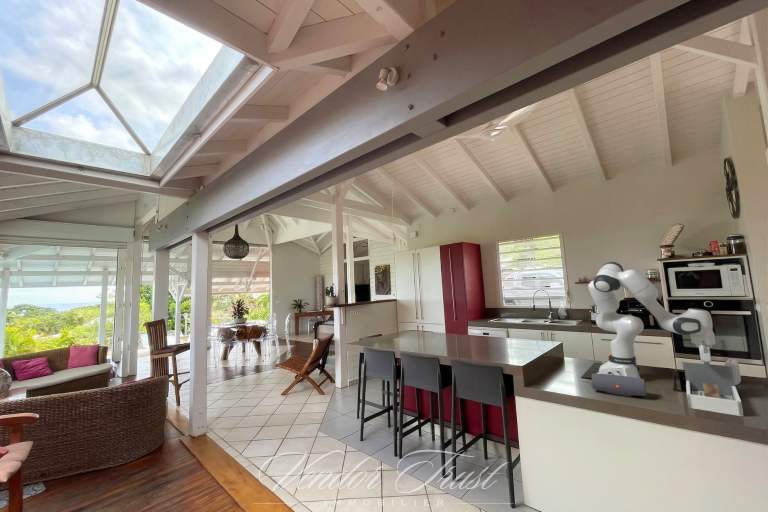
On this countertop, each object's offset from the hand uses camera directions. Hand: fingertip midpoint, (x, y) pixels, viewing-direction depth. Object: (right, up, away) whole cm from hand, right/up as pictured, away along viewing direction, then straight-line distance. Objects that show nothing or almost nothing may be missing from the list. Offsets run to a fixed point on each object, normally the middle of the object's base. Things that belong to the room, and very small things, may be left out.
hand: (707, 366), depth 160 cm
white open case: (-8, -13, -10) cm, 18 cm away
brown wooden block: (-8, -12, -10) cm, 17 cm away
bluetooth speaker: (-40, -18, +7) cm, 44 cm away
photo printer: (+24, -12, +9) cm, 28 cm away
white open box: (-9, -13, -12) cm, 20 cm away
